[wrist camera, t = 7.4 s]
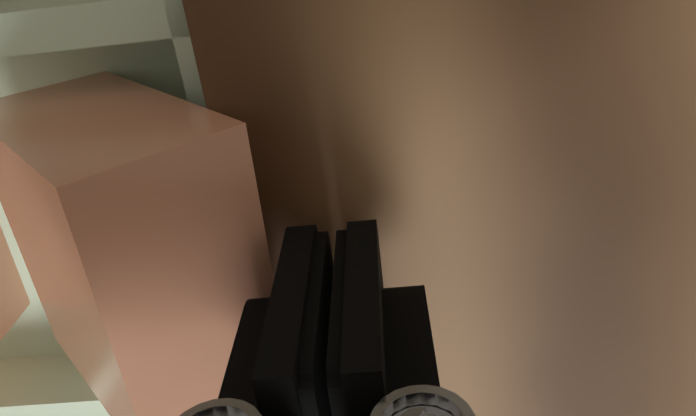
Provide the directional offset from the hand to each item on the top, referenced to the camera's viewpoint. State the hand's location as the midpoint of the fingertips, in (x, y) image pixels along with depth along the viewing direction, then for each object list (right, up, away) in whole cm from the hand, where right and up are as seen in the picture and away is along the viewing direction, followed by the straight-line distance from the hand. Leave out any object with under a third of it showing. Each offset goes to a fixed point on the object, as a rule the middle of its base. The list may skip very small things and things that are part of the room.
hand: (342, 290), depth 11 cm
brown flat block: (+5, +3, +4) cm, 7 cm away
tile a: (-3, +1, +2) cm, 4 cm away
